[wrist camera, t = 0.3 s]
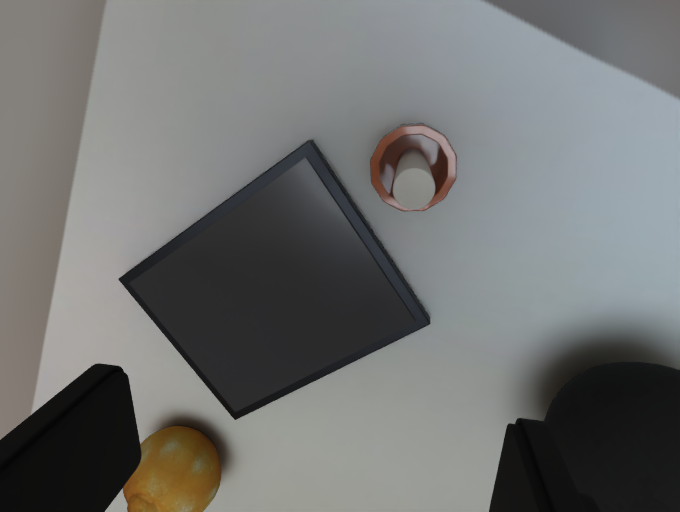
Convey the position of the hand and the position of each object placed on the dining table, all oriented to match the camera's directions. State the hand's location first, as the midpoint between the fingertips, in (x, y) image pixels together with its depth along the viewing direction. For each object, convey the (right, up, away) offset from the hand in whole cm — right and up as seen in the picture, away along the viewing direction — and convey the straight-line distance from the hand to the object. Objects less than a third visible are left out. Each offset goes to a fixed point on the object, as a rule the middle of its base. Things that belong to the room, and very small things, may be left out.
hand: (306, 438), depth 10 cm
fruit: (-14, -14, +30) cm, 36 cm away
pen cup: (+6, +11, +18) cm, 22 cm away
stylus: (+6, +11, +17) cm, 21 cm away
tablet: (-5, +1, +23) cm, 24 cm away
